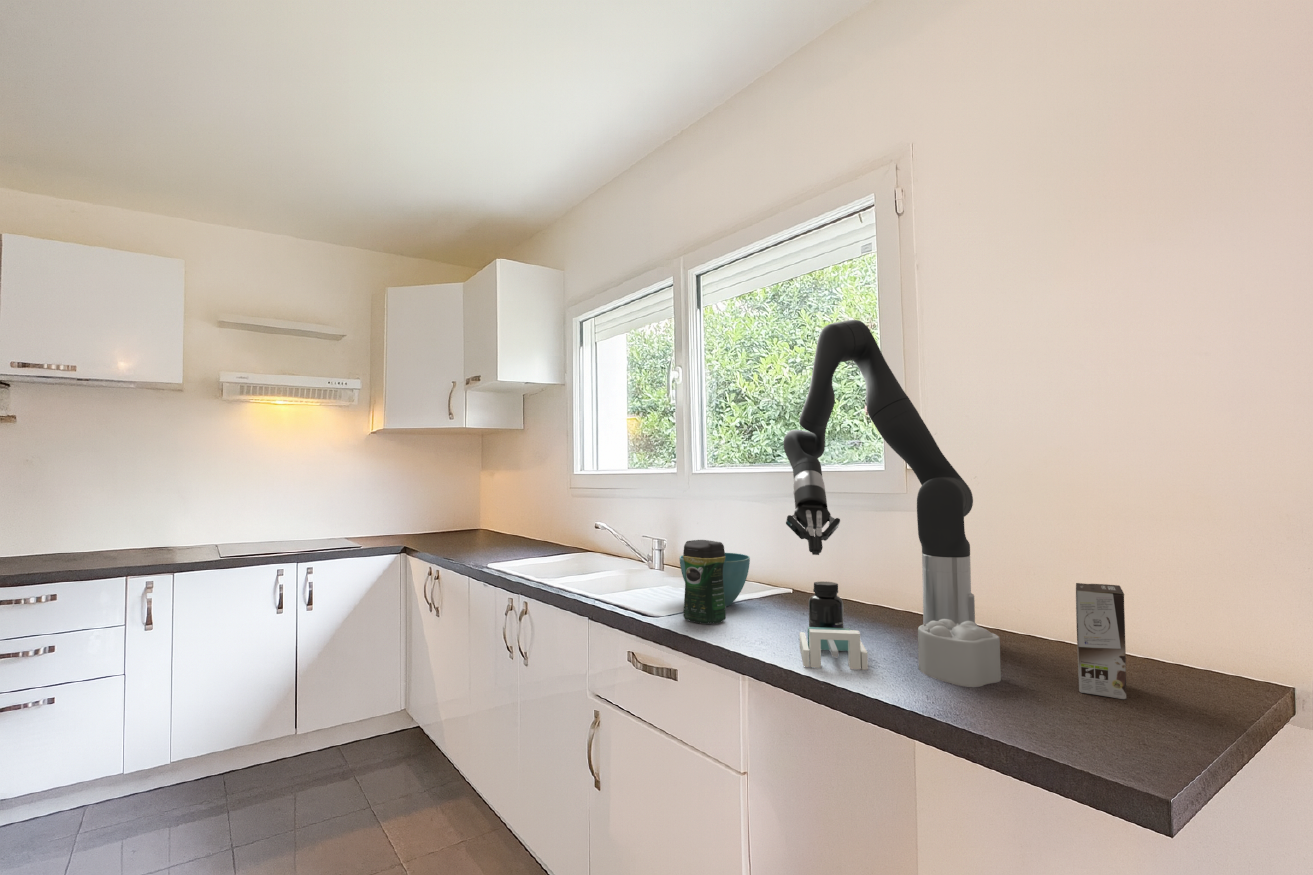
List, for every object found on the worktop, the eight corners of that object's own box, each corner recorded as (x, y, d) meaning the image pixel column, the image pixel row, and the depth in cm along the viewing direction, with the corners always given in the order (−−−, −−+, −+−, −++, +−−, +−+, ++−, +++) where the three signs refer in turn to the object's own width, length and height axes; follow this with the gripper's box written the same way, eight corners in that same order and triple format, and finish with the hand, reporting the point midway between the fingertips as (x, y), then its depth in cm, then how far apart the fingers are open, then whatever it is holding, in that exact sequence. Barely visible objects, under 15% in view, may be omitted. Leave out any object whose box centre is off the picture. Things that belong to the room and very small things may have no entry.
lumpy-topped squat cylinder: (967, 689, 107) (966, 634, 108) (903, 668, 119) (902, 618, 119) (1009, 679, 112) (1007, 627, 113) (943, 660, 124) (942, 612, 124)
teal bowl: (705, 614, 162) (705, 563, 162) (666, 601, 178) (666, 554, 178) (764, 606, 171) (764, 558, 171) (722, 594, 187) (722, 550, 187)
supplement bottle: (845, 648, 132) (844, 586, 132) (809, 646, 133) (808, 585, 134) (842, 639, 138) (841, 580, 139) (808, 637, 140) (807, 579, 140)
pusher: (850, 649, 130) (849, 628, 130) (858, 667, 118) (858, 644, 118) (807, 647, 131) (807, 626, 131) (812, 665, 119) (812, 642, 119)
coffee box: (1128, 700, 102) (1124, 593, 103) (1078, 693, 105) (1075, 589, 106) (1124, 684, 110) (1121, 584, 110) (1078, 677, 113) (1075, 580, 114)
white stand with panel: (857, 649, 130) (857, 617, 131) (867, 669, 118) (867, 634, 118) (799, 647, 132) (799, 615, 132) (803, 667, 119) (803, 631, 120)
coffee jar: (731, 621, 155) (731, 540, 156) (708, 627, 149) (708, 543, 150) (700, 614, 162) (700, 537, 163) (677, 619, 156) (677, 539, 157)
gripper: (784, 482, 162) (789, 541, 150) (840, 485, 161) (849, 545, 149) (780, 501, 167) (784, 560, 155) (834, 504, 167) (842, 563, 155)
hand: (816, 552), depth 152 cm, fingers closed
